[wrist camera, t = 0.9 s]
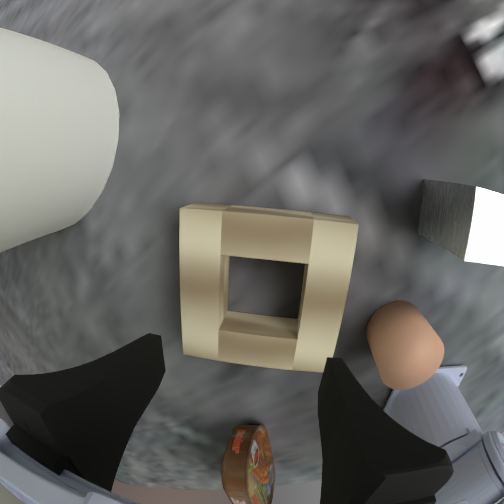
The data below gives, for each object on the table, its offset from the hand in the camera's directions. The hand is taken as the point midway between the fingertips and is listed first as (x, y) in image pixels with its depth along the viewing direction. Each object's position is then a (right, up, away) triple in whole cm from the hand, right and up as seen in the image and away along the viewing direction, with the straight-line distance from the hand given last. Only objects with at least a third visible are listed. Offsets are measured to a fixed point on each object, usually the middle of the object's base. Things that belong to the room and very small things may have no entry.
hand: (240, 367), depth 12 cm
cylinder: (-19, +15, +9) cm, 26 cm away
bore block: (+1, +3, +10) cm, 10 cm away
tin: (+1, -18, +16) cm, 24 cm away
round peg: (+12, -1, +10) cm, 16 cm away
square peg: (+15, +8, +7) cm, 18 cm away
